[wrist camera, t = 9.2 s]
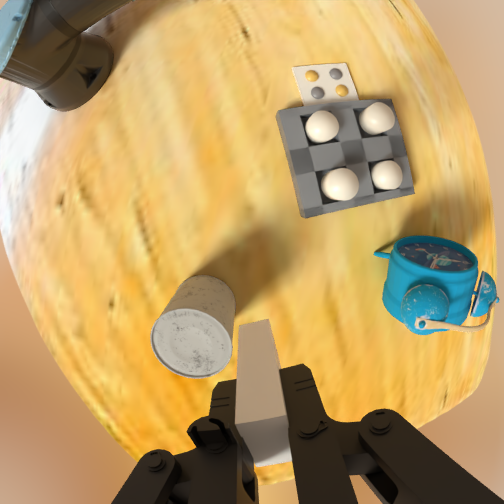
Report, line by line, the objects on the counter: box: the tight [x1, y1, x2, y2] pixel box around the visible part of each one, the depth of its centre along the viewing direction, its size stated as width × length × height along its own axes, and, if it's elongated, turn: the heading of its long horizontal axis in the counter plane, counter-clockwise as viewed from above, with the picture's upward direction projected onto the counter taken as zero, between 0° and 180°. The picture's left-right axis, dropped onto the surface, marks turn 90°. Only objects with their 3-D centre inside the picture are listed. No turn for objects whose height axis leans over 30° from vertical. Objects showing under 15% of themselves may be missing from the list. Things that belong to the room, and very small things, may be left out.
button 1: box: [304, 111, 339, 144], centre depth 33 cm, size 4×4×4 cm
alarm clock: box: [374, 236, 499, 335], centre depth 30 cm, size 17×10×20 cm, turn 95°
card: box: [292, 63, 359, 106], centre depth 34 cm, size 7×9×1 cm
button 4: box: [369, 160, 403, 189], centre depth 34 cm, size 4×4×4 cm
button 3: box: [359, 102, 395, 135], centre depth 31 cm, size 4×4×4 cm
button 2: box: [321, 168, 359, 201], centre depth 33 cm, size 4×4×4 cm
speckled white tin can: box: [150, 275, 236, 378], centre depth 35 cm, size 10×10×12 cm
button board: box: [276, 99, 415, 218], centre depth 35 cm, size 15×18×3 cm
